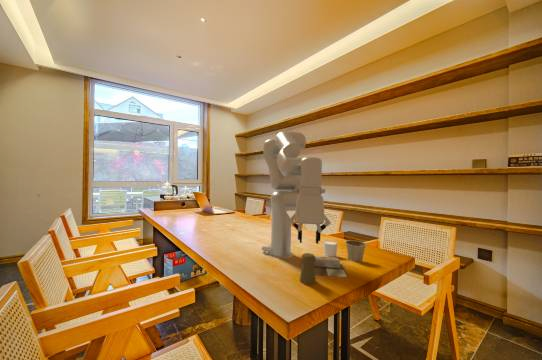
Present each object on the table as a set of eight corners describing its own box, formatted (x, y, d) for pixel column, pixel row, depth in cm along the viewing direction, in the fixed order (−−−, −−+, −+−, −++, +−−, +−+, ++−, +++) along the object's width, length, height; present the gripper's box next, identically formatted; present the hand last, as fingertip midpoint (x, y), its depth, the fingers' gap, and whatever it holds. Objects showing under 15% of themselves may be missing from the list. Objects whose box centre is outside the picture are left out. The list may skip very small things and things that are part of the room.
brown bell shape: (297, 280, 88) (298, 251, 87) (313, 280, 88) (314, 251, 88) (301, 288, 82) (301, 257, 81) (318, 288, 82) (319, 257, 82)
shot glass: (329, 260, 110) (329, 245, 110) (319, 255, 117) (320, 241, 116) (340, 258, 114) (340, 243, 114) (330, 253, 120) (330, 240, 120)
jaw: (303, 265, 99) (303, 256, 99) (303, 263, 101) (303, 254, 101) (339, 268, 96) (339, 259, 96) (338, 266, 99) (339, 257, 99)
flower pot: (367, 266, 104) (368, 246, 104) (345, 264, 106) (346, 245, 106) (363, 259, 114) (364, 241, 113) (343, 257, 115) (344, 239, 115)
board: (303, 277, 91) (303, 266, 91) (302, 263, 105) (302, 254, 105) (348, 280, 89) (348, 269, 89) (341, 266, 103) (342, 257, 103)
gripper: (333, 192, 87) (331, 241, 87) (287, 190, 89) (285, 238, 89) (336, 193, 80) (334, 246, 80) (285, 191, 82) (284, 243, 82)
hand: (308, 241), depth 85 cm, fingers open, 5 cm apart
